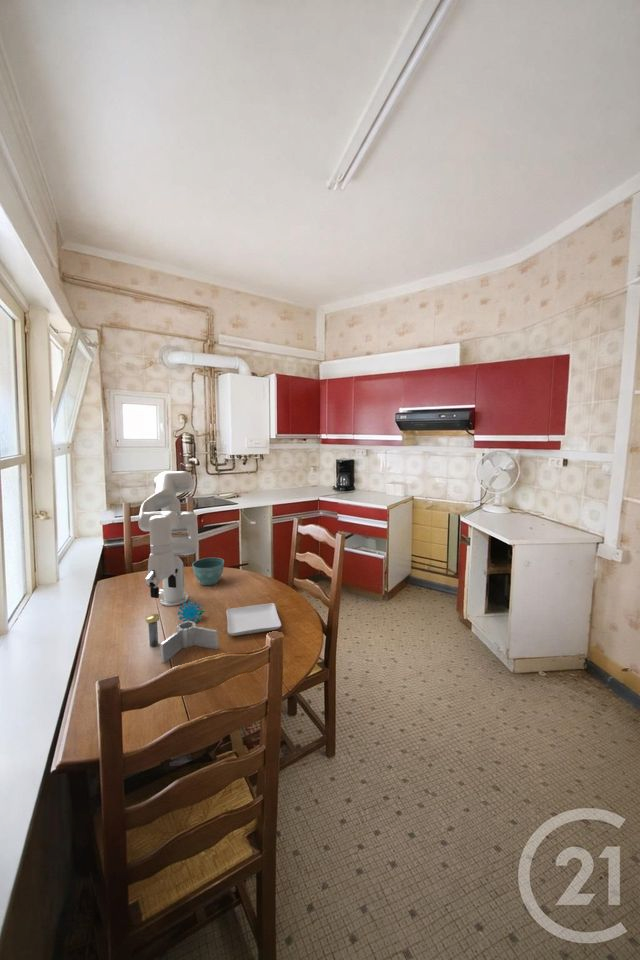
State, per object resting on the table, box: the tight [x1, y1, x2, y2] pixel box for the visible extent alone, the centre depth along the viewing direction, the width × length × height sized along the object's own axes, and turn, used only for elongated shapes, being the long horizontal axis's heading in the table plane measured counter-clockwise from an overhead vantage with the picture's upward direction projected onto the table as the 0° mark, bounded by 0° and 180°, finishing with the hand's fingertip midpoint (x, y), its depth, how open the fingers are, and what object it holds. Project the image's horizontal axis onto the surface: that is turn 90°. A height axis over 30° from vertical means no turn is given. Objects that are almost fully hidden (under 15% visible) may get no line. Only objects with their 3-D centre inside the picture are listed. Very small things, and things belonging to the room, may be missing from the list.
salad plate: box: [225, 602, 282, 636], centre depth 159 cm, size 21×21×3 cm
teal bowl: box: [192, 557, 225, 586], centre depth 201 cm, size 16×16×11 cm
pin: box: [145, 613, 161, 648], centre depth 142 cm, size 5×5×11 cm
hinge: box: [159, 620, 219, 664], centre depth 137 cm, size 17×17×7 cm
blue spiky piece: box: [177, 600, 206, 623], centre depth 162 cm, size 11×6×10 cm
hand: (163, 592), depth 142 cm, fingers open, 9 cm apart
